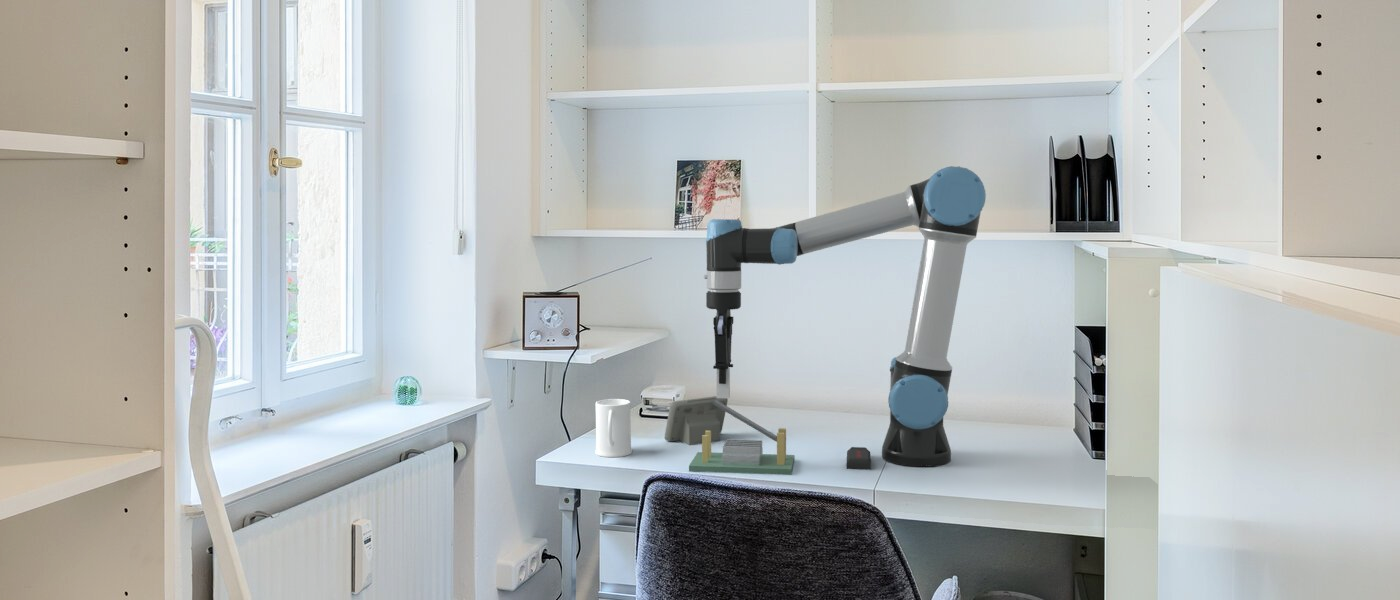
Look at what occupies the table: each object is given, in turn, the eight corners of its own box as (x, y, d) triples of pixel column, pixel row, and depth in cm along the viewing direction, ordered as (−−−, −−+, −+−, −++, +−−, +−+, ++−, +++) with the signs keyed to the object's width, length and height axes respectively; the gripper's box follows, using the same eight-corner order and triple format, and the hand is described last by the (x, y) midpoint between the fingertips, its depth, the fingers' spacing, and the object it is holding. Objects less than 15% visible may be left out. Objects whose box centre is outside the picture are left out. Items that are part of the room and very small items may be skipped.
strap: (782, 443, 207) (785, 439, 207) (781, 446, 204) (784, 442, 204) (714, 402, 209) (716, 398, 209) (712, 405, 206) (714, 401, 206)
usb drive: (846, 470, 204) (846, 457, 204) (847, 456, 216) (847, 444, 216) (870, 471, 203) (871, 458, 203) (870, 457, 215) (870, 445, 215)
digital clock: (721, 433, 239) (721, 391, 238) (734, 441, 230) (734, 398, 229) (660, 438, 234) (659, 396, 233) (670, 446, 225) (670, 403, 224)
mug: (625, 461, 212) (625, 408, 211) (588, 460, 213) (587, 408, 212) (635, 448, 224) (634, 398, 223) (599, 448, 225) (598, 398, 223)
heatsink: (762, 456, 211) (762, 439, 210) (759, 465, 203) (759, 448, 202) (727, 455, 212) (726, 438, 212) (722, 464, 204) (722, 447, 204)
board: (794, 460, 212) (794, 425, 211) (791, 474, 200) (791, 437, 199) (697, 457, 215) (697, 422, 214) (689, 471, 203) (688, 434, 203)
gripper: (710, 287, 212) (710, 391, 214) (702, 292, 199) (701, 402, 201) (744, 288, 211) (743, 392, 213) (737, 293, 198) (736, 404, 200)
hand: (723, 397), depth 207 cm, fingers closed
